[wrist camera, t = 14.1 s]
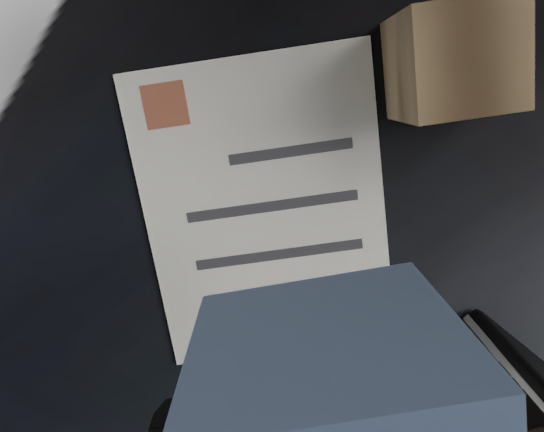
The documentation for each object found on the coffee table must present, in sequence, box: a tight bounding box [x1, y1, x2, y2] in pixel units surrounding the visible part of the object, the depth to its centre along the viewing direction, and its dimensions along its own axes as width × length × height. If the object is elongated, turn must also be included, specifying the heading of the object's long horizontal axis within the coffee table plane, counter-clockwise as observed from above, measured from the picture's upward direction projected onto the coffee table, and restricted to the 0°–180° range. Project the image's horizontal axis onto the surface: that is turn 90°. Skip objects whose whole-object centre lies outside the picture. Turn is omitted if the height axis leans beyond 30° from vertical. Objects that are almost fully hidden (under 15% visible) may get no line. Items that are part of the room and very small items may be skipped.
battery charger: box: [463, 309, 544, 412], centre depth 25 cm, size 7×4×11 cm, turn 51°
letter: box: [113, 35, 390, 365], centre depth 28 cm, size 14×18×1 cm
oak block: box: [380, 0, 535, 126], centre depth 23 cm, size 5×5×6 cm
